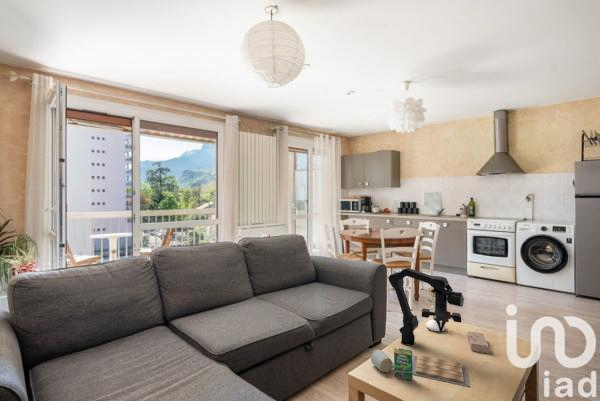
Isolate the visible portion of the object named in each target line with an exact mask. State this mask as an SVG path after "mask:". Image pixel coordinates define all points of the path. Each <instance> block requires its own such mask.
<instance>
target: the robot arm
mask: <svg viewBox="0 0 600 401" xmlns="http://www.w3.org/2000/svg"><path fill="white" fill-rule="evenodd" d="M406 277H409V278H411V279H413V280H418V281H420V282H422V283H425V284H428V285H429V286H431V288H433V290H431V292H433V293H435V297H434V304H435V312H434V311H431V310H430V308H422V309H421V317H422V318H426V319H429V318H430V316H431V317H433V318H432V319H433V320H435V321H436V322H437V324H438V327H439V330H440V331H439V332H440V333H441V332H443V331H442V330H443V327H444V325H445V326H446V323H449V321H450V320H452V321H453V322H454V323H462V314H461V313H459V312H451V311H449V310H448V304H449V305H453V306H457V307H459V308H460V307H461V308H463V307H464V302H465V298H464V295H463V292H460V291H454V289H453V288H452V287H451V285H450V283H449V281H448V279H447V277H444V276H440V275H439V276H438V275H431V274H427V273H424V272H422V271H419V270H415V269H412V268H410V267H406V268H403V269H402V270H400V271H399V272H394V273H391V274H389V276H388V278H387V280H388V282H389V284H390V286H391V287H392V289H394V291H395V294H396V297H397V300H398V303H399V307H400V310H401V313H402V324H403V326H402V327H400V328H399V329H398V330H399V333H400V335H401V337H400V338H401V340H400V345H401V344H402V345H406V346H412V347H413V346H414V344H415V338H416V336H415V334H414V331H415V330H416V329H417V328H418V327H419V322H420V321H419V320H418V316H417V315H416V314H415V315H414V314H413V313H412V310H411V308H410V304H409V300H408V298H407V295H406V292H405V289H404V285H405V284H404V282H405V281H404V278H406ZM451 313H452V314H451ZM440 321H441V322H442V323H441V325H440Z"/></svg>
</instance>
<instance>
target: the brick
mask: <svg viewBox="0 0 600 401" xmlns="http://www.w3.org/2000/svg"><path fill="white" fill-rule="evenodd" d="M466 335H467V341H468V345H469V347H470V350H471V351H473V352H478V353H482V354H489V344H488V342H487V339H486V336H485V334H484V333H481V332H478V331H477V332H476V331H467V332H466Z"/></svg>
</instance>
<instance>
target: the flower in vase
mask: <svg viewBox="0 0 600 401" xmlns="http://www.w3.org/2000/svg"><path fill="white" fill-rule="evenodd" d="M433 289H434V288H433V287H432V286H431V287H428V288H427V293H428V294H429V295H430V296H432V297H431V299H429V298H428V299H427V300H426V301H427V302H429V303H431V304H433V305H431V309H432V310H433V311H432V312H435V302H434V301H433V300H432V299H434V298H435V293H433V292H431V290H433ZM433 297H434V298H433ZM441 323H442V321H440V325H441ZM425 326H426V328H427V329H428V330H431V331H433V332H440V330H439V327H438V324H437V322H436V321H435V320H433V318H432V319H430V320H428V321H427V322H426V323H425ZM446 329H447V327H446V324H445V325H444V327H443V330H442V332H443V331H445V330H446Z"/></svg>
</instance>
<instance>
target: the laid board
mask: <svg viewBox="0 0 600 401" xmlns="http://www.w3.org/2000/svg"><path fill="white" fill-rule="evenodd" d="M416 373H417V374H421V375H426V376H431V377H435V378H440V379H445V380H449V381H454V382H458V383H463V384H464V379H463V373H462V372H457V371H452V370H447V369H442V368H437V367H432V366H427V365H422V364H417V363H416Z"/></svg>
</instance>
